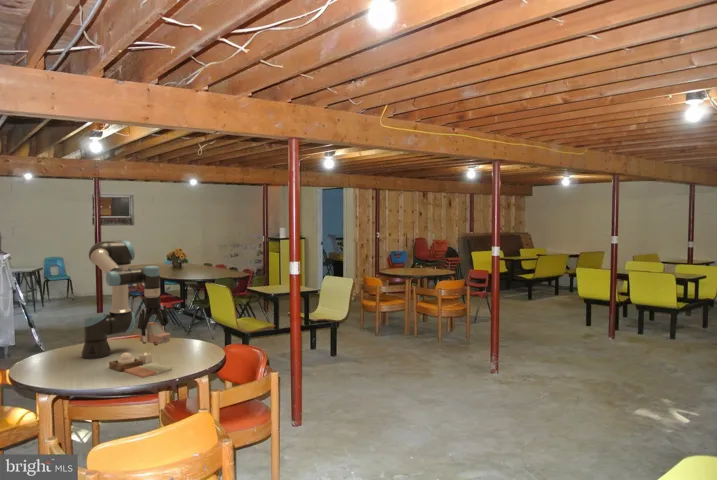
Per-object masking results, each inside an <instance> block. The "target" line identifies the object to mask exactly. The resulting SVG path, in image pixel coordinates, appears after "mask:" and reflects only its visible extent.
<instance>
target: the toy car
mask: <svg viewBox="0 0 717 480" xmlns="http://www.w3.org/2000/svg"><path fill="white" fill-rule="evenodd" d="M160 325H161V324H160V322H155V321H149V322H148V324H147V327H146V329H147V338H148V342H143V336H142V330H141V329H140V332H139V333H138V336H139V341H140V342H142V344H143V345H145V344H147V343H150V344H153V345H154V346H158V345H162V344H163V345H164V344H166V343H169V342H170V341H171V332H170V333H169V332H166V329H165V330H162V328H161V326H160Z"/></svg>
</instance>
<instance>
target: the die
mask: <svg viewBox="0 0 717 480" xmlns="http://www.w3.org/2000/svg"><path fill="white" fill-rule="evenodd" d="M152 355H153V354H152V353H151V352H144V353H140V354H139V356H138V357H139V358H138V359H140V360H143V364H144V365H146V364H150V363H153V356H152Z"/></svg>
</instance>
